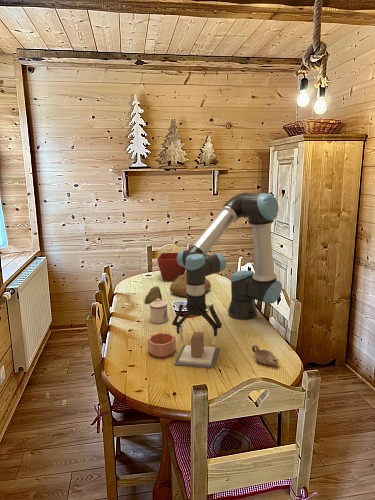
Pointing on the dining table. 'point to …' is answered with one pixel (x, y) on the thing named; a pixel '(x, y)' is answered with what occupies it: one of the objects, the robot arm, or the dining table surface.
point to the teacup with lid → (158, 311)
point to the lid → (197, 351)
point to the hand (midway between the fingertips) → (197, 342)
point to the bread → (184, 286)
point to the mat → (197, 364)
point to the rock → (153, 295)
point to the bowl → (161, 344)
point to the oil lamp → (264, 356)
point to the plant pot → (170, 266)
